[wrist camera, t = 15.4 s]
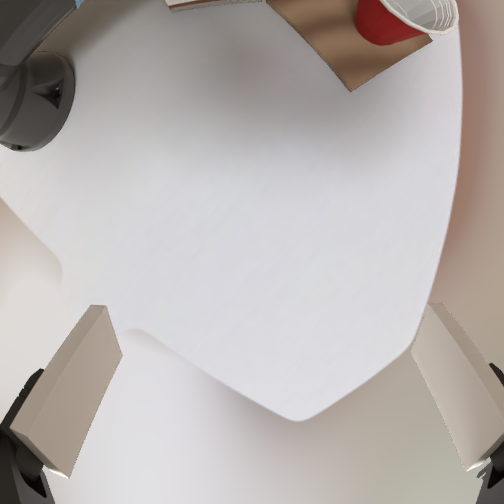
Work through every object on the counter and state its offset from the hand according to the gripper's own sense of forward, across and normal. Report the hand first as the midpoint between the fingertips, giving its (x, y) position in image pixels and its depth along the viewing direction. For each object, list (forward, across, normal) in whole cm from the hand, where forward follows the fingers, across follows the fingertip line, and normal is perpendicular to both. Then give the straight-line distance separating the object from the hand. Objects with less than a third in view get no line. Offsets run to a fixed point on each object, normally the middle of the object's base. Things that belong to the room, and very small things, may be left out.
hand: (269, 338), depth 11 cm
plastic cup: (+28, +15, +22) cm, 38 cm away
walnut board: (+29, +12, +23) cm, 39 cm away
